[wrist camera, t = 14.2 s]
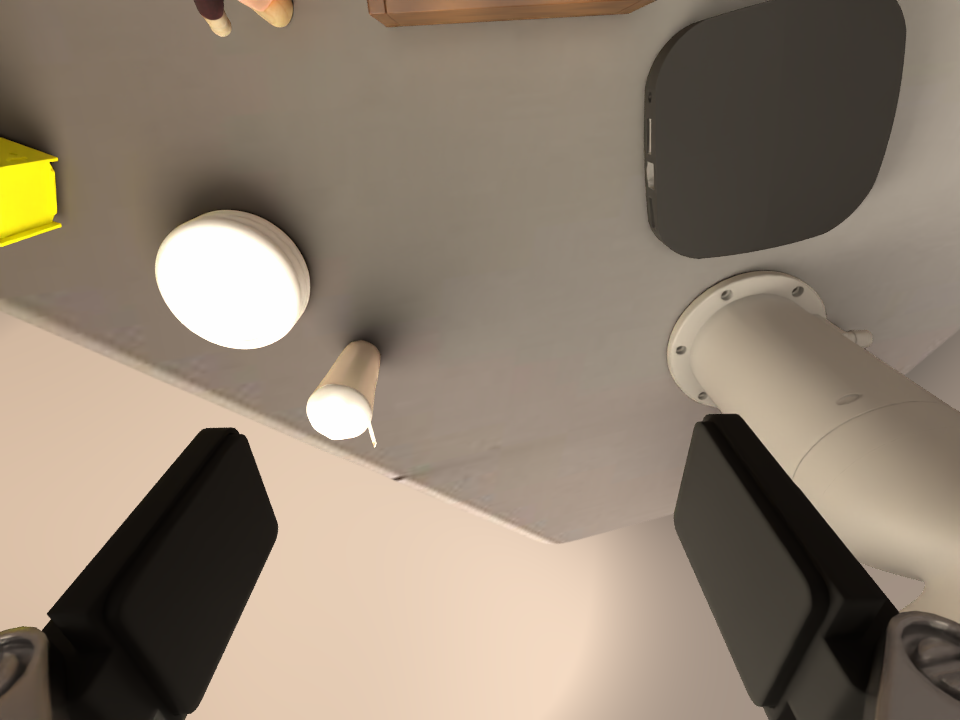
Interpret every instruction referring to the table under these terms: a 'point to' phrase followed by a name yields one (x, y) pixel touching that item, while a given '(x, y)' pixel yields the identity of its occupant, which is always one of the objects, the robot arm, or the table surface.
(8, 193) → the yellow toy chassis
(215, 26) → the grandmother figurine
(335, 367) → the milkshake
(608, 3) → the crate
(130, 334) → the table surface
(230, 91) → the table surface
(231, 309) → the white short cylinder
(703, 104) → the media streaming box
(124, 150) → the table surface
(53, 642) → the robot arm
